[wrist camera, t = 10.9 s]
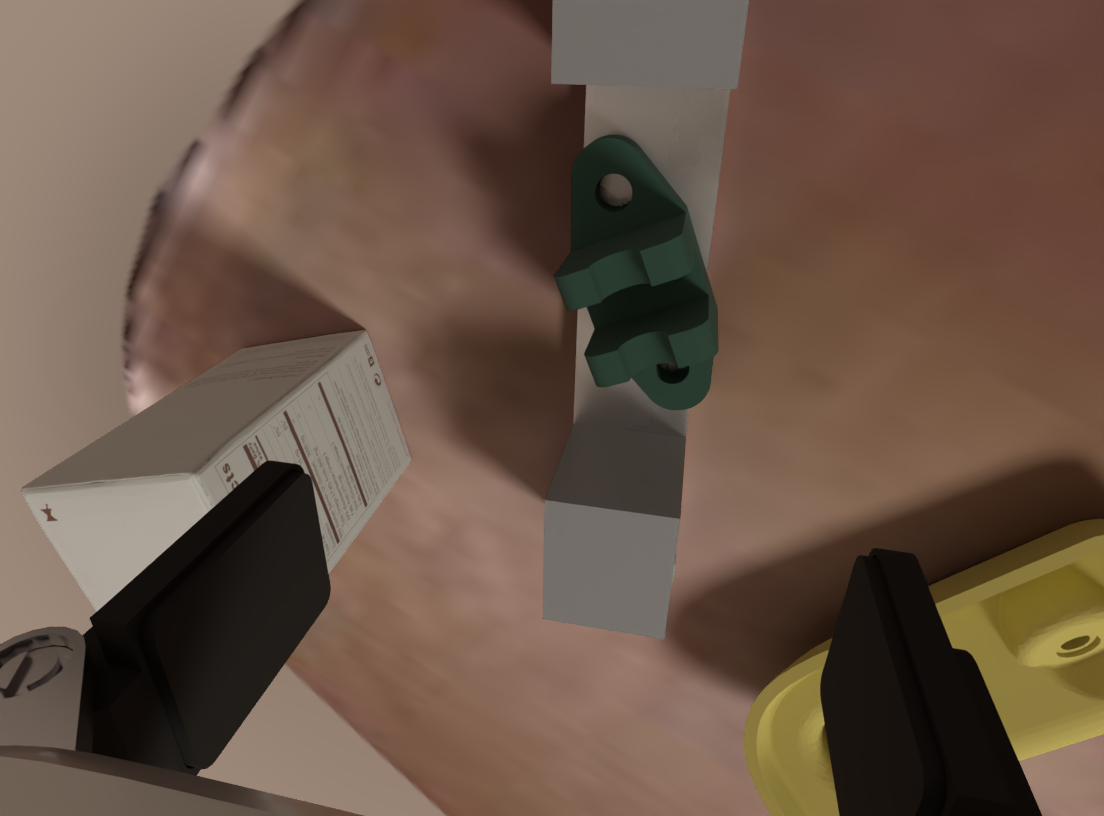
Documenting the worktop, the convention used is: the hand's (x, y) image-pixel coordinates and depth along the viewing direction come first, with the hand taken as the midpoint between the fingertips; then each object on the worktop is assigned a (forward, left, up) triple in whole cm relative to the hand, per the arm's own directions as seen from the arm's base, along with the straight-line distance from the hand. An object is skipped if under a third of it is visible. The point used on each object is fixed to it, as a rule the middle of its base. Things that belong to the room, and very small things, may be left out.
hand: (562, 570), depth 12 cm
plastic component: (-16, +17, -19) cm, 30 cm away
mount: (0, 0, -18) cm, 18 cm away
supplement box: (+15, +8, -18) cm, 25 cm away
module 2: (0, +10, -17) cm, 20 cm away
